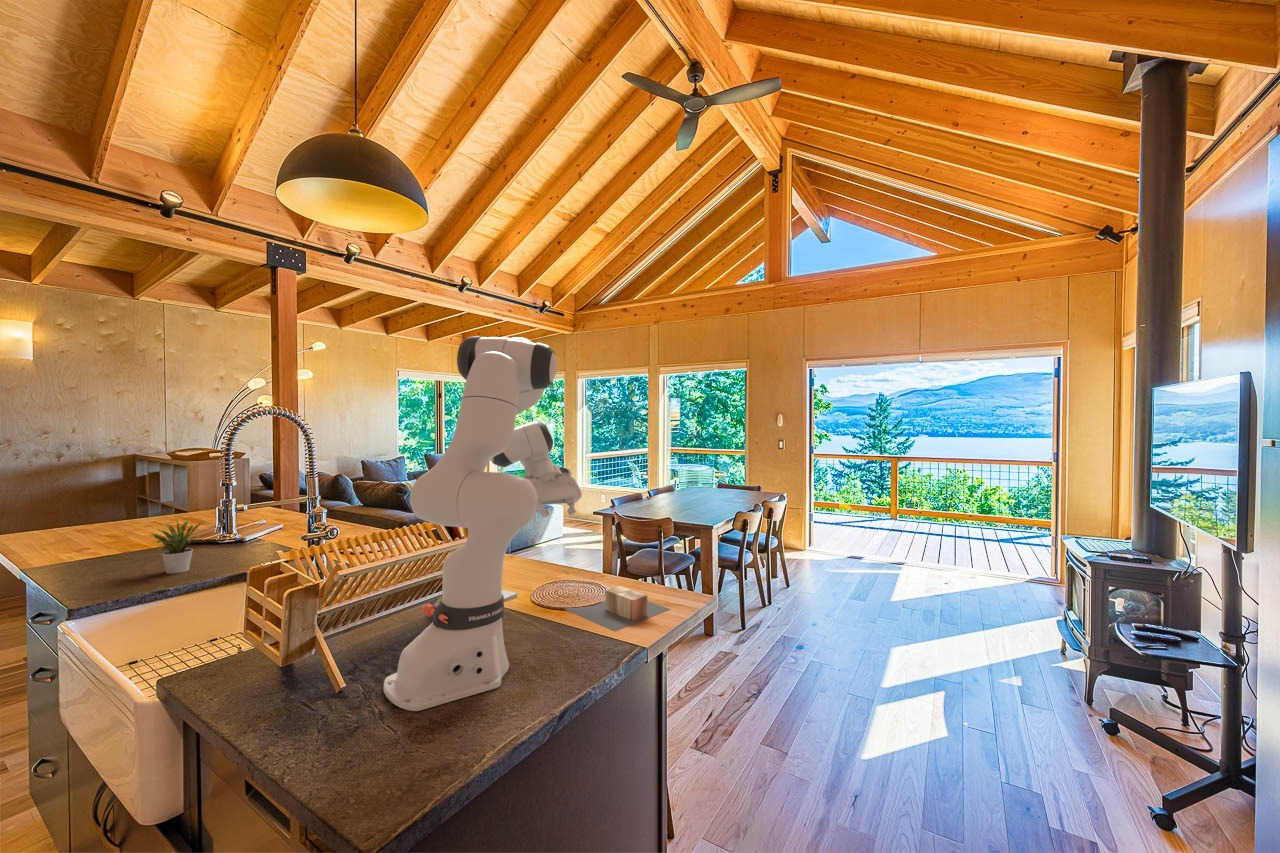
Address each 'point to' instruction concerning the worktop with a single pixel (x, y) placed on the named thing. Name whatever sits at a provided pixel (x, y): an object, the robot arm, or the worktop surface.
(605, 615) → the rubber mat
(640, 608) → the beige brown block
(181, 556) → the house plant
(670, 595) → the worktop surface
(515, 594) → the hard drive
